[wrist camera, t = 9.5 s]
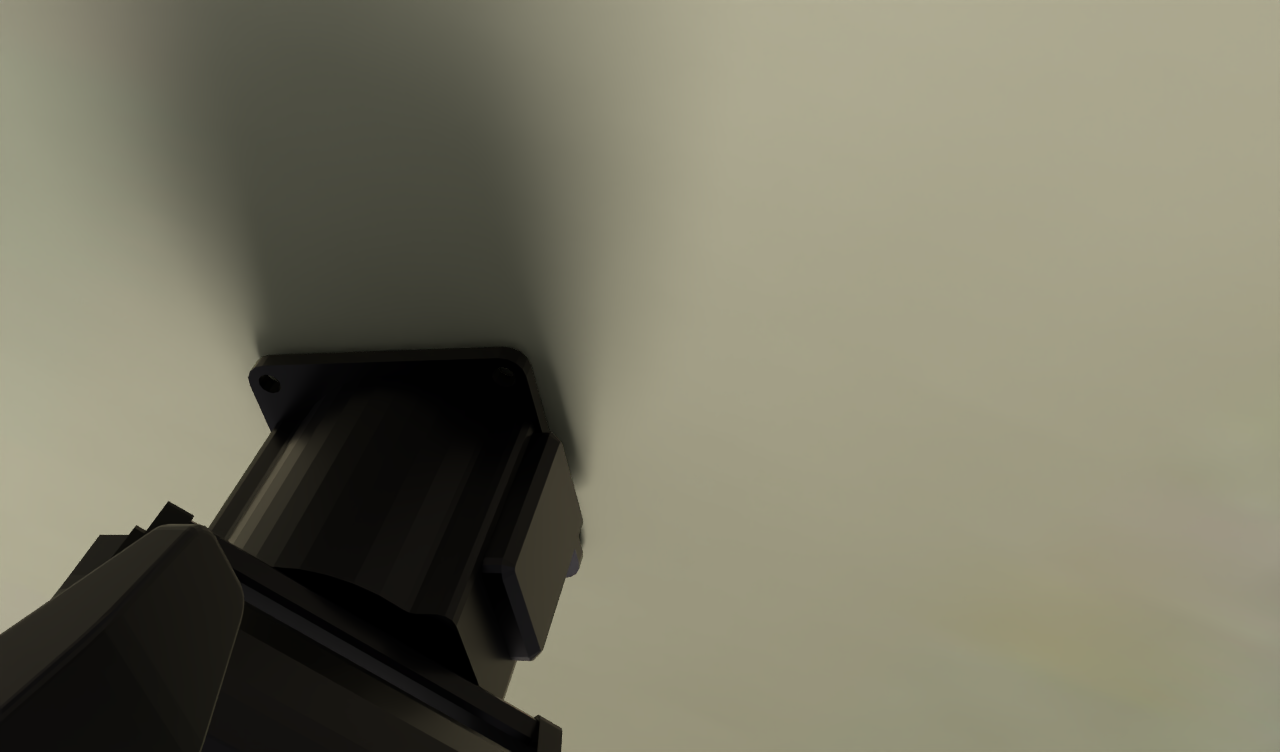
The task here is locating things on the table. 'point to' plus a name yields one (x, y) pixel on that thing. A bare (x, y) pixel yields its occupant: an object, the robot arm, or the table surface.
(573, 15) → the table surface
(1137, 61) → the table surface
